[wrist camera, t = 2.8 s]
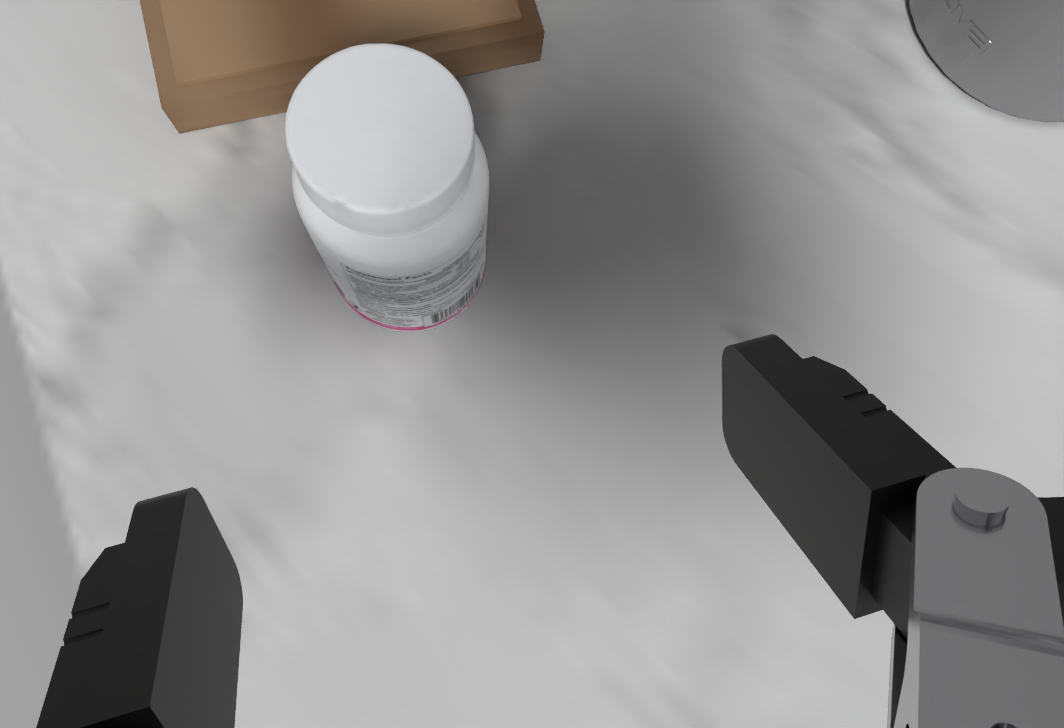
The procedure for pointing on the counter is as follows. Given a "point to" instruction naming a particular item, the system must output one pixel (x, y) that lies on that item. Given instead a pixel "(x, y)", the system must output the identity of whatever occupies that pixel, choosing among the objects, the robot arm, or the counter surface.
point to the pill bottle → (391, 183)
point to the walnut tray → (313, 46)
